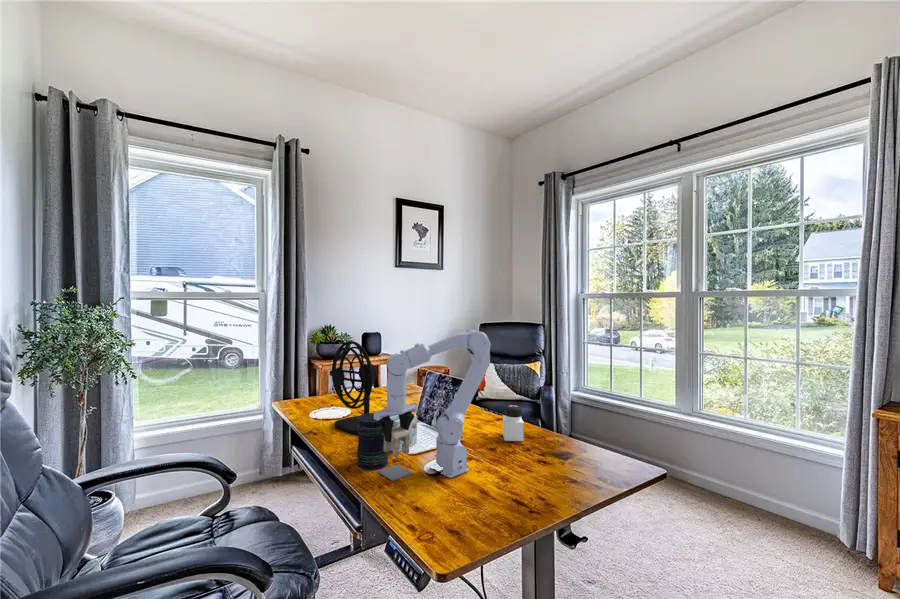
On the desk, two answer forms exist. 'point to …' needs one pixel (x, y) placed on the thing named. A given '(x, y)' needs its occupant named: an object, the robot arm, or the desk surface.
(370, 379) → the desk fan
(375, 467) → the storage jar
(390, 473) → the mat
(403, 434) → the stool
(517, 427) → the medicine bottle
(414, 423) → the light bulb box
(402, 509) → the desk surface
